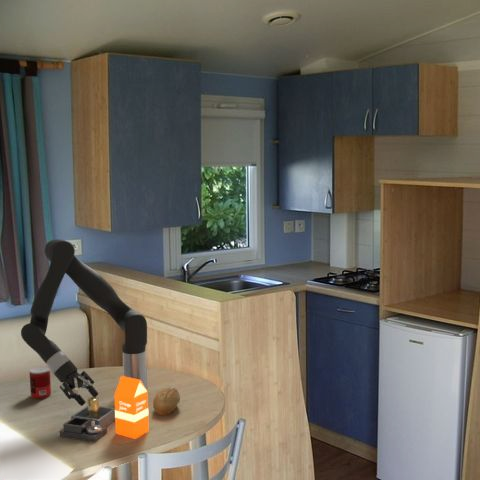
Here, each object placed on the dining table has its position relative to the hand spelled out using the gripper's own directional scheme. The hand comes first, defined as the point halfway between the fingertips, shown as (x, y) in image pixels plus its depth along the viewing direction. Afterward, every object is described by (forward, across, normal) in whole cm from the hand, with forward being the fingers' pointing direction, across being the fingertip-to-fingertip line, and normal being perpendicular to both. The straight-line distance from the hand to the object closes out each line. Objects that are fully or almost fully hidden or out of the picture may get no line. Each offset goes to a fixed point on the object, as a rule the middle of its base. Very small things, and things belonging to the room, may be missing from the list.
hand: (90, 400), depth 261 cm
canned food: (-18, +17, +30) cm, 39 cm away
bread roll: (+21, +20, -8) cm, 30 cm away
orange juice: (+19, -3, -7) cm, 21 cm away
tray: (+7, 0, +5) cm, 9 cm away
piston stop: (+6, 0, +4) cm, 8 cm away
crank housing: (+8, -10, +4) cm, 14 cm away
